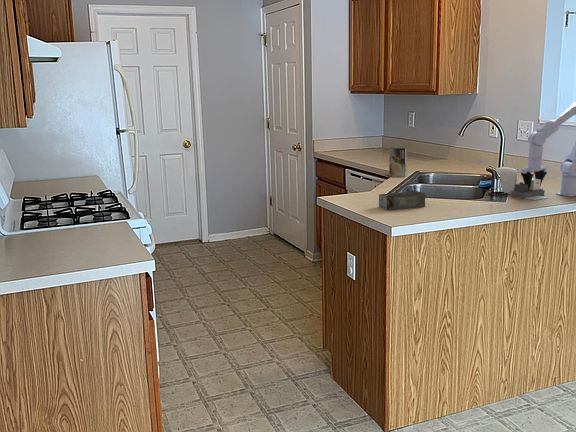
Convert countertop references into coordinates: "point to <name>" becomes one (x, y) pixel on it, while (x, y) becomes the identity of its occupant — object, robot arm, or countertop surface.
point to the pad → (536, 197)
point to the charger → (535, 184)
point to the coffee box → (397, 162)
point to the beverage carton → (402, 200)
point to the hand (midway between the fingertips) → (532, 187)
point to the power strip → (528, 194)
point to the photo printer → (507, 178)
